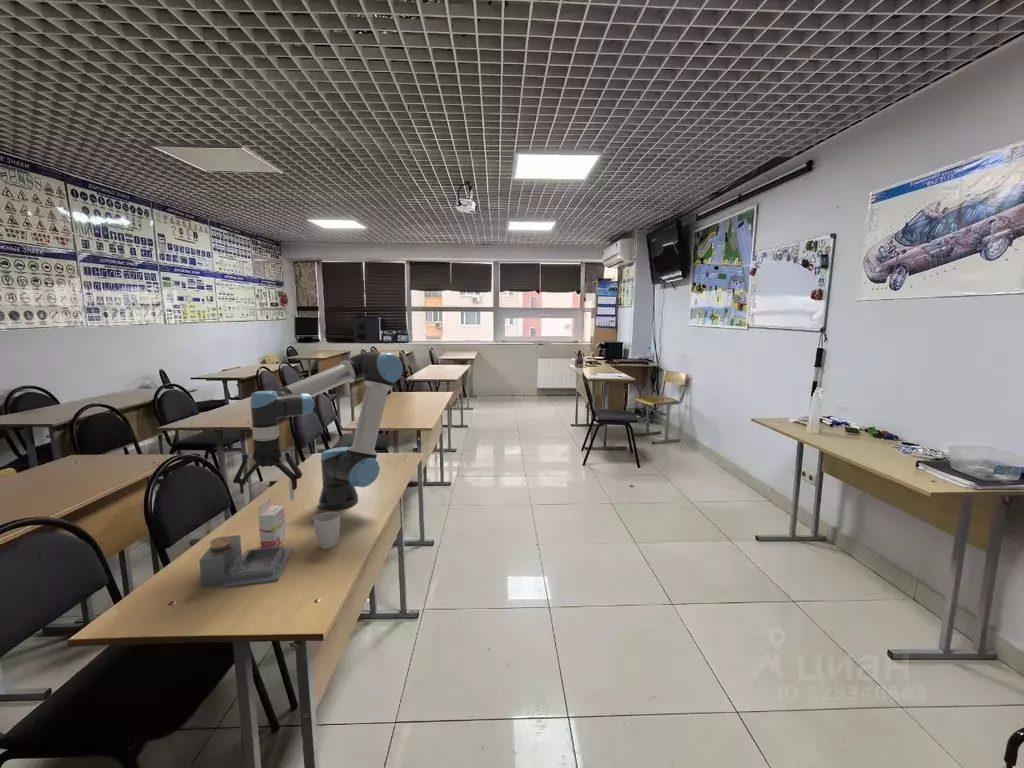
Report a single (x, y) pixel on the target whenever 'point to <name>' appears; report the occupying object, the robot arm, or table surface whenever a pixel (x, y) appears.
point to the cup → (327, 529)
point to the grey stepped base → (241, 563)
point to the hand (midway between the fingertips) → (269, 500)
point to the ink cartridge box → (271, 524)
